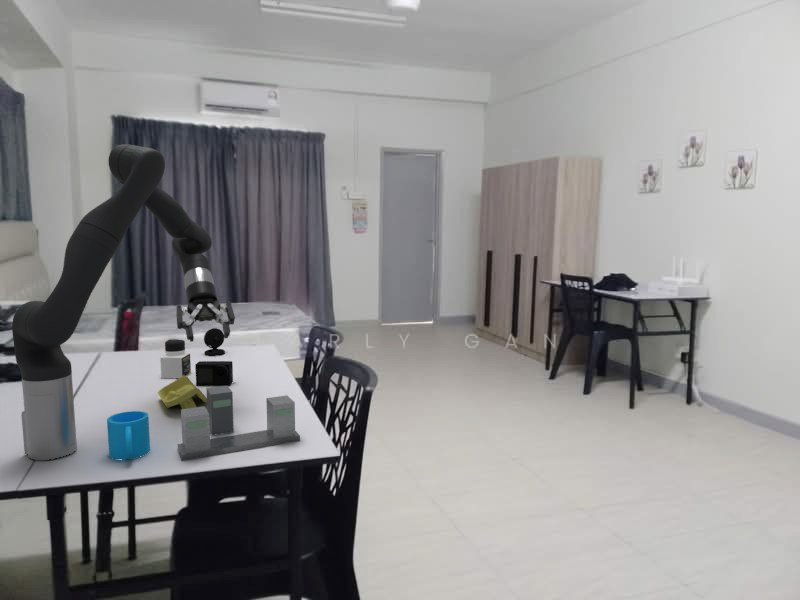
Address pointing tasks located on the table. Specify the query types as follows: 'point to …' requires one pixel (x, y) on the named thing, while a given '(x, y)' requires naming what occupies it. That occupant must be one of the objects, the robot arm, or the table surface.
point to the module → (220, 409)
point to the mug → (128, 435)
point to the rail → (201, 445)
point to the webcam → (214, 342)
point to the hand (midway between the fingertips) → (209, 338)
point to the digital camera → (214, 373)
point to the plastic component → (180, 393)
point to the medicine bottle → (175, 360)
